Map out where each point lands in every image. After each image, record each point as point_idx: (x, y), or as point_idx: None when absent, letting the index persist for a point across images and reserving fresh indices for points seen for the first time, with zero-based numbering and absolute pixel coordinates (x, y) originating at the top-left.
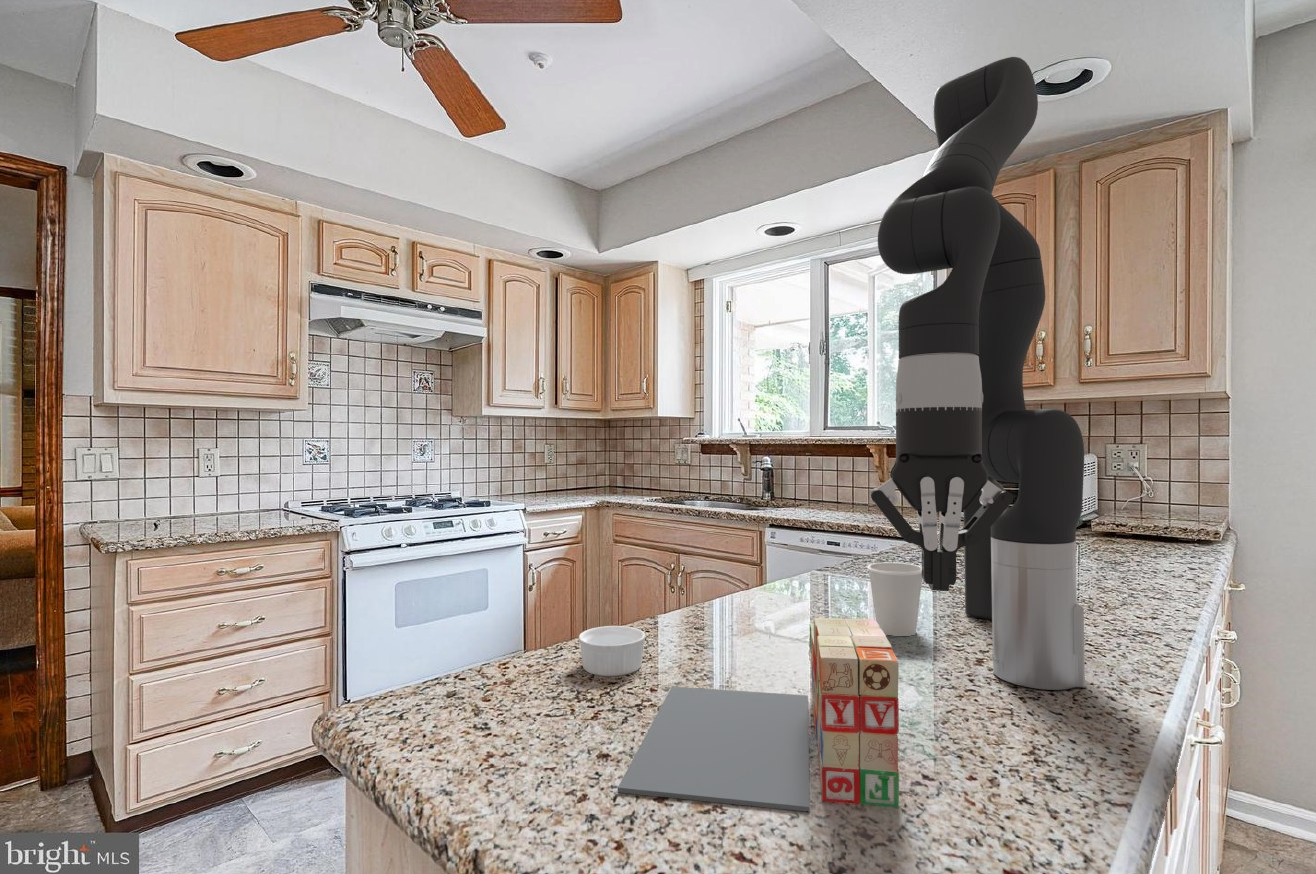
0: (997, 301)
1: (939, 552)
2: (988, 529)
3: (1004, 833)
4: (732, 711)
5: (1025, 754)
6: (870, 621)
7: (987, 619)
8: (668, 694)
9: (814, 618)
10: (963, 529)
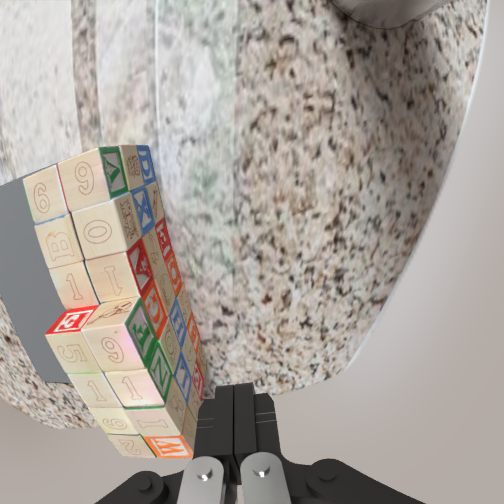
0: None
1: (241, 483)
2: None
3: (281, 369)
4: (29, 239)
5: (328, 228)
6: (121, 339)
7: None
8: None
9: (46, 338)
10: (321, 498)
